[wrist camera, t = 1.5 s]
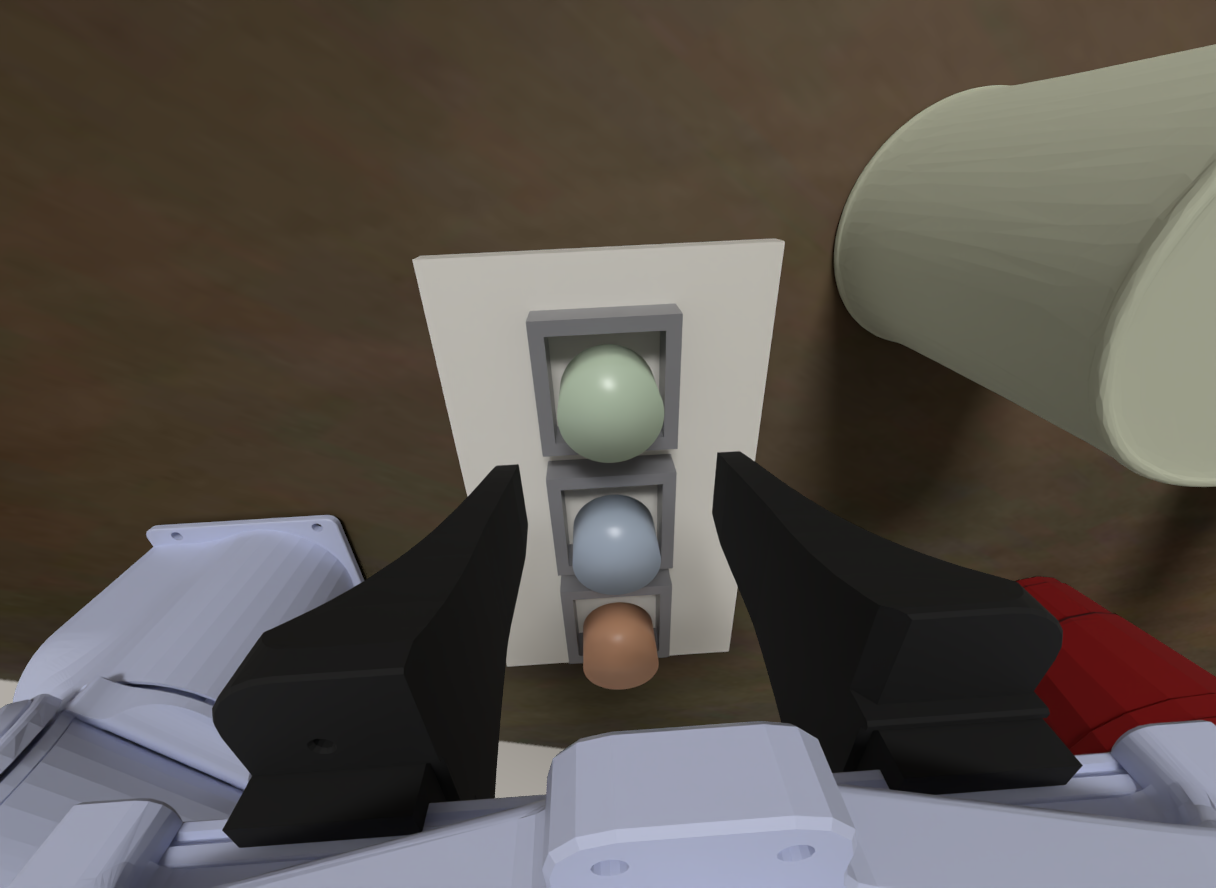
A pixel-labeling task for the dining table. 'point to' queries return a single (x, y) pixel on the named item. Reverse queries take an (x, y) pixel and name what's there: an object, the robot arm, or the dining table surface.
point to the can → (1058, 253)
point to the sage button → (609, 404)
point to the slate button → (615, 545)
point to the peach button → (619, 646)
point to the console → (565, 481)
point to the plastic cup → (1112, 674)
